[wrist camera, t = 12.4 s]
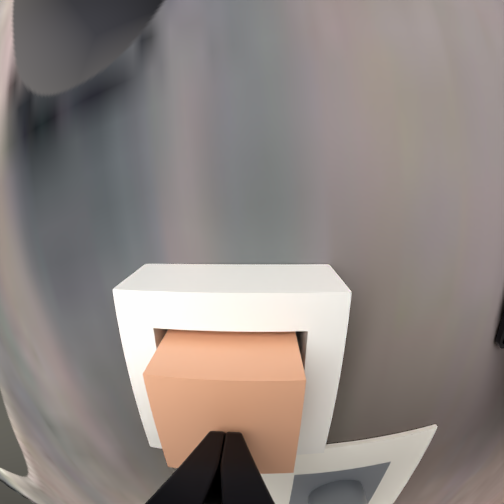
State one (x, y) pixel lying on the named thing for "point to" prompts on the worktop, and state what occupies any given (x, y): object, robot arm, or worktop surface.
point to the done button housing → (241, 323)
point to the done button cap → (228, 393)
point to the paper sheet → (355, 467)
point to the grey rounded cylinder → (339, 493)
